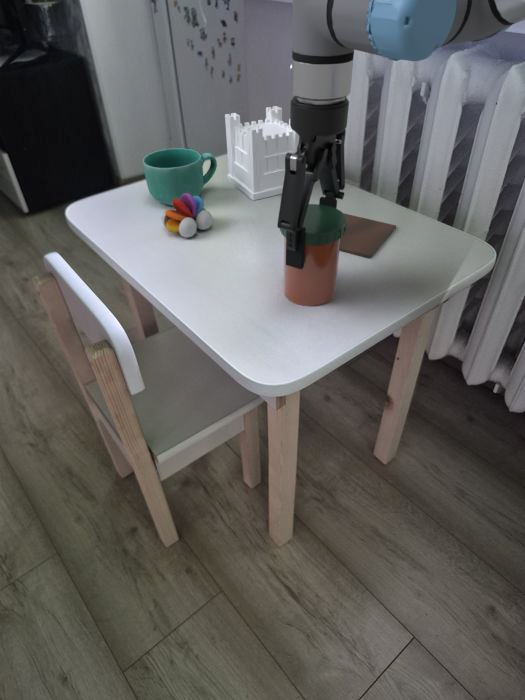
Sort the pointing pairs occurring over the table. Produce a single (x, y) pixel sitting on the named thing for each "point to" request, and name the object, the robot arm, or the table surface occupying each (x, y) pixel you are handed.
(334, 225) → the lid
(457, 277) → the table surface
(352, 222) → the coaster
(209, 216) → the rainbow fan wheeled toy
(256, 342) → the table surface
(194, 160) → the mug
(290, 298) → the jar
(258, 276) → the table surface
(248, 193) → the castle model
